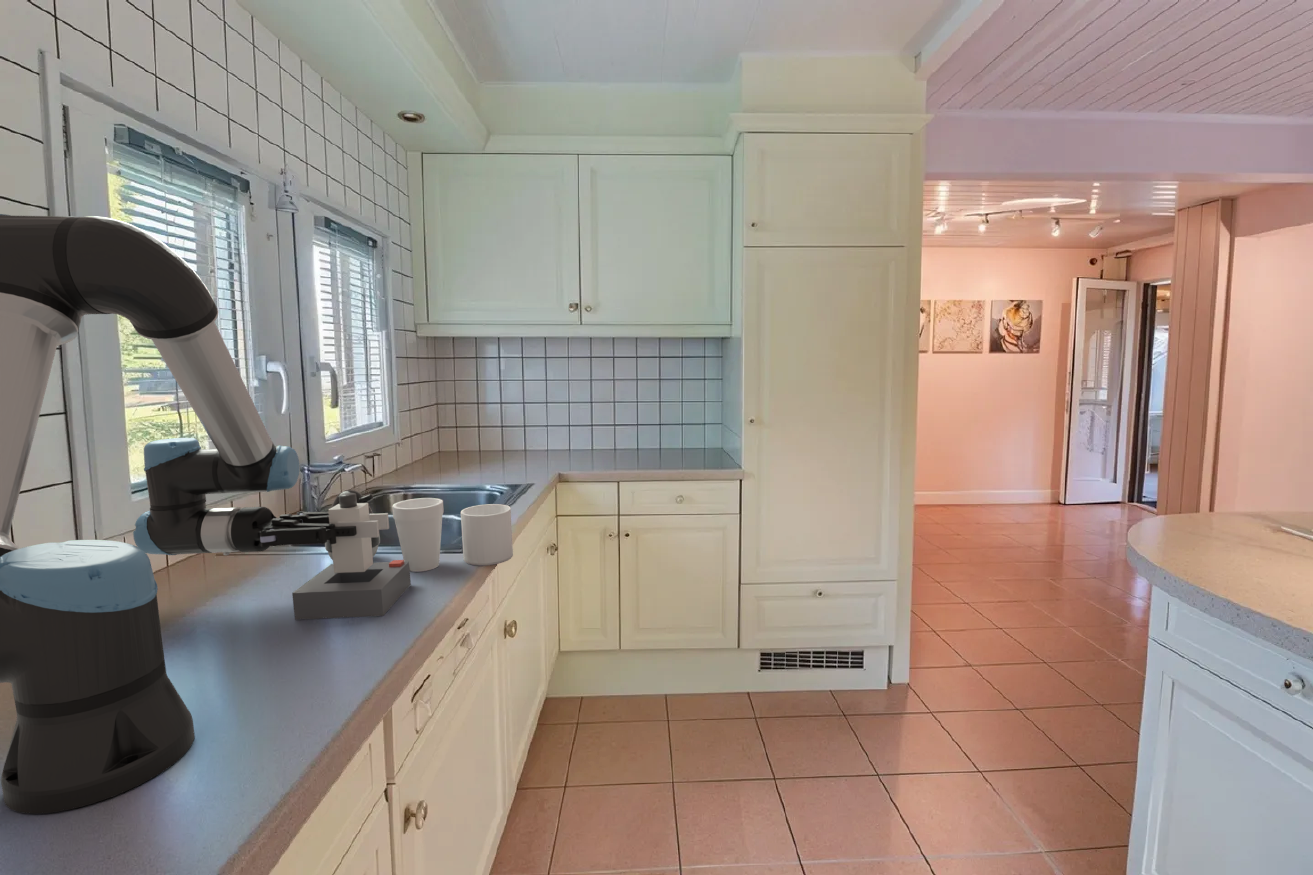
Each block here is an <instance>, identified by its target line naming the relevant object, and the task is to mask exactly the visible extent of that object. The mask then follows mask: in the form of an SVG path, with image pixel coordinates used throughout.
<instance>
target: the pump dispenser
mask: <svg viewBox="0 0 1313 875" xmlns="http://www.w3.org/2000/svg"><path fill="white" fill-rule="evenodd" d="M346 493H356V499H357V503H368V507H369V514H374V513H373V510H372V508H371V506H370V504H369V502H370V501H371V500H373V499H374V494H367V495H362V493H361V492H359V491H358V490H355V489H347V490H343V491H341V492H340V493H339V494H337V496H336V497H335V498H334V501H333V502H332V505H331V506H330V508H332V507H334V506H336V505H337V504H340V501H339V495H341V494H346ZM371 543H372V555H373V558H374V557H375V555H376V554H377V552H378V549H379V545H380V543H381V537H380V534H379V537H372V538H371ZM324 547H325V551H327V554H328V556H329V557H330V559H331V560H332V561H333V556H332V545H331V544H330V540H327V542H326V543H324Z"/></svg>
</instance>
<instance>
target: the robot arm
mask: <svg viewBox="0 0 1313 875" xmlns="http://www.w3.org/2000/svg"><path fill="white" fill-rule="evenodd" d="M211 294H212V293H210V290H209V288H208V287H207V286H206V284H205V283H204V282H203V280H202V279H201V278H200V276H199V274H197V272H196V271H195V270H194V269H193V268H192V267H191V266H190V264H188V263H187V261H186V260H185V259H183V258H182V257H181V256H180V255H179V254H178V253H177V252H176V251H175V250H173V249H172V248H170V247H169V246H168V245H167V244H165V243H164V242H163V241H161V240H160V239H158V238H156V237H155V236H153V235H152V234H151V233H149V232H148V231H145V230H144V229H142V228H139V227H137V226H136V225H133V224H131V223H128V222H126V221H123V220H119V219H115V218H112V217H105V216H97V215H85V216H63V215H62V216H60V215H57V216H55V215H54V216H53V215H11V214H10V215H9V214H5V213H3V214H2V213H0V684H5V683H9V684H11V689H12V695H13V698H14V704H15V705H14V706H15V713H16V720H15V726H14V728H13V732H12V736H11V740H10V744H9V746H8V749H7V753H6V758H5V761H4V765H3V769H2V772H1V779H0V784H1V790H2V796H3V802H4V804H5V806H6V807H7V808H8V809H10V810H12V811H15V812H17V813H21V814H35V815H36V814H38V815H39V814H52V813H59V812H64V811H70V810H74V809H77V808H82V807H85V806H88V805H89V806H90V805H92V804H95V803H98V802H101V801H105V800H107V799H110V798H113V797H116V796H118V795H121V794H124V793H126V792H127V791H130V790H132V789H134V788H136V787H138V786H140V785H142V784H144V783H146V782H148V781H149V780H152V779H154V778H155V777H157V776H158V775H160V774H161V773H163V772H165V771H166V770H167V769H169V768H170V767H172V766H173V765H174V764H176V763H177V762H178V761H179V760H180V759H182V757H183V756H184V755H186V753H187V752H188V751H189V750H190V748H191V746H192V745H193V742H194V741H195V728H194V719H193V716H192V714H191V712H190V710H189V709H188V707H187V705H186V704H185V701H183V698H182V697H181V696H180V694H179V692H178V691H177V689H176V687H175V686H174V685H173V684H174V683H172V681H171V680H170V677H168V674H167V668H166V662H165V654H164V653H165V652H164V642H163V636H162V626H161V619H160V611H159V603H158V595H157V594H158V590H159V589H158V583H157V581H156V579H155V575H154V572H153V567H152V562H151V559H150V557H149V556H148V554H149V555H168V556H176V555H177V556H178V555H192V554H193V555H194V554H214V553H215V554H216V553H217V554H218V553H222V554H223V556H229V555H230V554H231V553H237V552H240V553H251V552H253V553H254V552H255V553H256V552H257V553H258V552H264V551H266V550H268V549H269V548H270V547H275V546H289V545H294V546H295V545H314V544H316V545H317V544H322V545H323V544H325V543H326V542H327V540H330V544H335V543H336V537H338V539H342V538H372V537H379V535H380V530H381V531H382V530H389V529H390V522H389V521H390V520H389V519H390V518H389V513H388V512H385V513H383V512H382V513H373V514H369V519H370V521H347V522H337V523H336V524H337V527H335V524H329V513H328V511H302V510H300V511H298V512H296V514H291V513H289V514H288V513H287V514H286V513H285V514H280V515H279V517H276V516H275V515H274V514H273V512H272V510H271V509H270V508H268V507H266V506H246V507H238V506H237V507H216V508H215V507H213V508H208V507H207V503H206V502H207V497H206V495H219V494H234V493H235V494H237V493H238V494H239V493H257V492H258V493H260V492H261V493H262V492H266V493H268V492H269V493H270V492H273V491H275V492H276V491H282V490H289V489H291V488H293V487H294V486H296V484H297V483H298V482H297V481H298V480H299V476H300V460H299V456H298V452H297V451H296V449H294V448H292V447H291V446H288V445H287V446H285V445H281V444H279V445H275V444H274V442H273V440H272V438H271V437H270V434H269V433H268V430H267V428H266V426H265V425H264V424H265V423H264V422H263V420H262V418H261V416H260V414H259V412H258V410H257V407H256V406H255V403H254V402H253V399H252V397H251V394H250V393H249V390H248V389H247V387H246V385H245V382H244V381H243V380H244V379H243V378H242V377H241V373H240V372H239V370H238V368H237V366H236V364H235V362H234V360H233V359H234V358H232V355H231V353H230V351H229V349H228V348H227V345H226V343H225V341H224V338H223V337H222V335H221V333H220V331H219V328H218V326H217V324H216V320H217V319H218V315H219V309H218V307H217V305H216V302H215V300H214V298H213V295H211ZM112 314H113V315H118V316H121V317H123V318H125V319H126V320H128V321H129V322H130V323H131V325H132V327H133V329H134V330H135V331H136V333H137V334H138V335H140V336H141V337H143V338H145V339H148V340H151V341H152V342H153V345H154V346H155V347H156V349H157V350H158V352H159V355H160V356H161V358H162V359H163V361H164V362H165V364H166V366H167V368H168V369H169V371H170V373H171V375H172V376H173V378H174V379H175V381H176V384H177V385H178V386H179V388H180V390H181V392H182V393H183V395H184V397H185V398H186V400H187V401H188V403H189V405H190V407H191V408H192V410H193V412H194V413H195V415H196V417H197V418H198V420H199V423H200V424H201V425H202V426H203V428H204V430H205V432H206V433H207V435H208V437H209V439H210V440H211V442H212V444H213V446H214V447H215V448H213V449H212V448H211V449H210V448H207V449H205V448H202V446H201V445H200V443H199V440H198V439H197V438H193V437H174V438H172V437H171V438H164V439H157V440H152V441H149V442H148V443H146V444H145V445H144V447H143V460H144V468H143V471H144V473H145V480H146V485H147V486H146V487H147V491H148V492H147V493H148V499H149V506H150V507H149V510H148V511H145V512H143V513H142V514H140V515H139V516H138V518H137V519H136V521H135V524H134V526H135V529H134V530H133V533H132V535H133V540H134V543H135V544H131V543H128V542H123V541H118V540H106V539H73V540H66V541H62V542H45V543H38V544H34V545H28V546H24V547H19V546H18V545H16V544H15V543H14V542H13V541H12V540H11V539H10V537H9V535H10V532H11V528H12V524H13V520H14V516H15V512H16V508H17V505H18V500H19V497H20V493H21V489H22V485H23V480H24V477H25V473H26V469H27V465H28V463H29V462H28V461H29V457H30V453H31V449H32V445H33V441H34V438H35V433H36V429H37V426H38V422H39V418H40V414H41V409H42V405H43V402H44V398H45V394H46V391H47V388H48V383H49V379H50V375H51V370H52V367H53V363H54V359H55V356H56V352H57V347H59V346H61V345H64V344H65V345H66V344H67V343H70V342H72V341H73V340H75V339H76V338H77V337H78V334H79V328H80V325H81V321H82V318H83V316H86V315H112Z"/></svg>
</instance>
